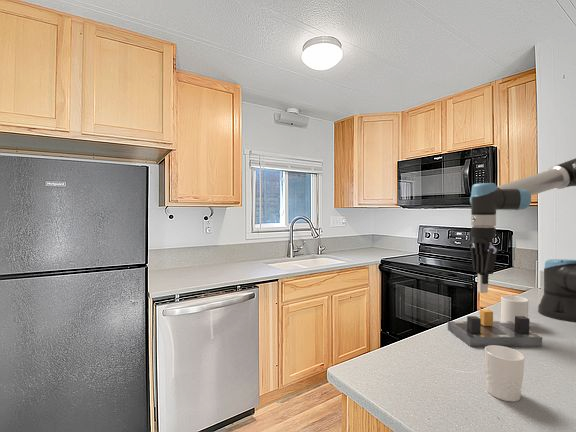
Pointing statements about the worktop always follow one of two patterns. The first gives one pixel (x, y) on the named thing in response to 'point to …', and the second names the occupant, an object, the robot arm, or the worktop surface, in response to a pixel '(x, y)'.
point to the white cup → (504, 372)
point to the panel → (495, 333)
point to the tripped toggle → (486, 317)
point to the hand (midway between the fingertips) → (482, 292)
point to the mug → (513, 307)
